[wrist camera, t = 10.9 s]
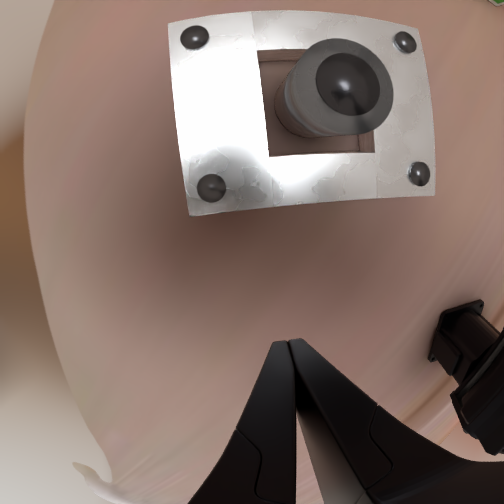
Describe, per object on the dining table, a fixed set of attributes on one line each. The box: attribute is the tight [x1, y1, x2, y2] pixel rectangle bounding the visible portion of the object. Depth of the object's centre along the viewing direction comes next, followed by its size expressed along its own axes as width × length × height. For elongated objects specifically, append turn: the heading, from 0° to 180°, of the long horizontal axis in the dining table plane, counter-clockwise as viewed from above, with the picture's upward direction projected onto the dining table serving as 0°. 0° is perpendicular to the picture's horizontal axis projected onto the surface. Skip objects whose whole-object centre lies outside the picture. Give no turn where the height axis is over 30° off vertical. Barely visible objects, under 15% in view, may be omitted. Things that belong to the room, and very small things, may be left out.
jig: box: [168, 10, 435, 217], centre depth 15 cm, size 16×12×3 cm
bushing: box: [274, 38, 394, 138], centre depth 13 cm, size 4×4×7 cm
